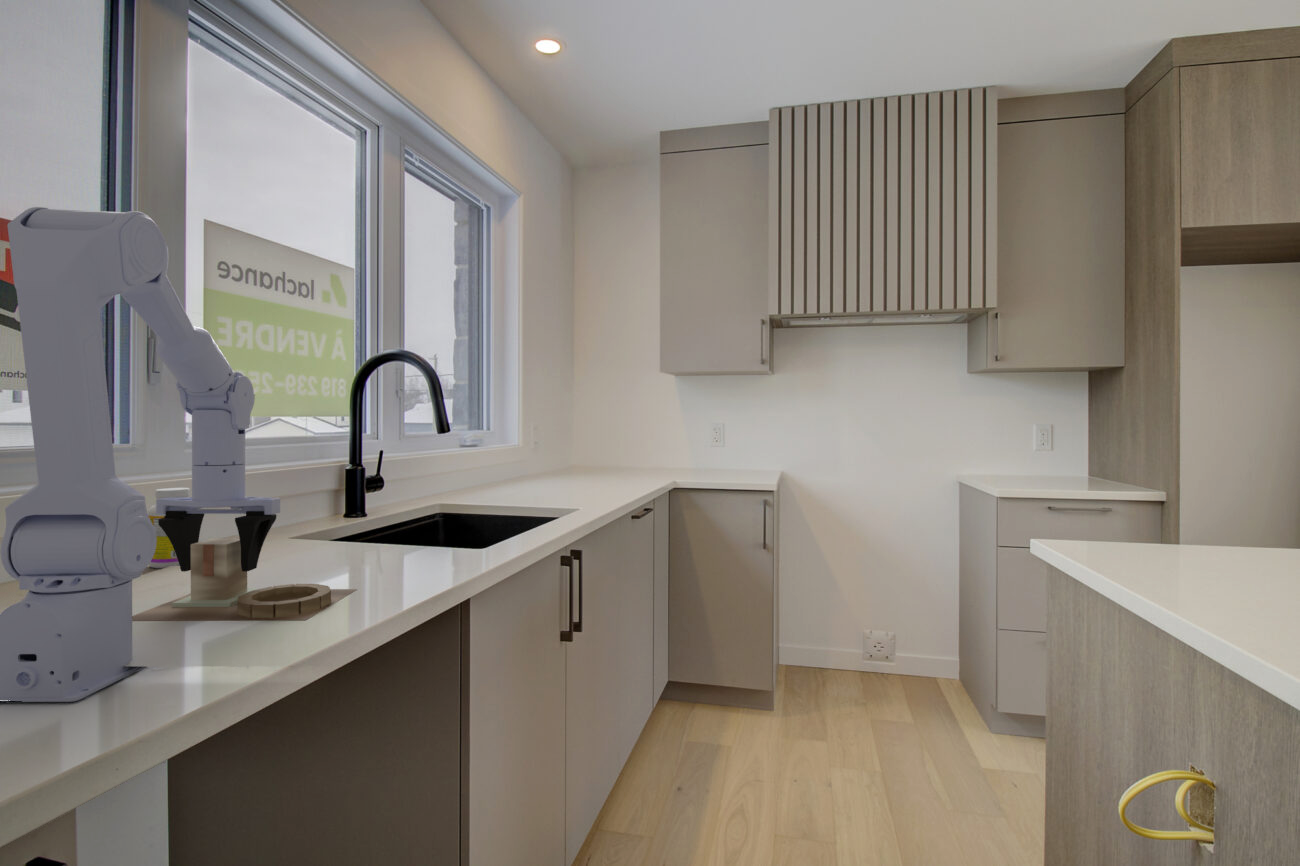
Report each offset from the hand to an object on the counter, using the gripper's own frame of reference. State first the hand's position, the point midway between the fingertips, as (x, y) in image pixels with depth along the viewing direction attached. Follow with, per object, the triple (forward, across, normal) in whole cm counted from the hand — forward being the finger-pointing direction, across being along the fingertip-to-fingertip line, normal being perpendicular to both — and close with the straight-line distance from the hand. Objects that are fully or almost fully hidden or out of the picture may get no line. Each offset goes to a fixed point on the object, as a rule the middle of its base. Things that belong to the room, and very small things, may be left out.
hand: (219, 569), depth 83 cm
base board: (+5, -5, +2) cm, 7 cm away
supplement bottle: (+5, +24, -26) cm, 36 cm away
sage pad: (+4, 0, 0) cm, 4 cm away
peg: (+3, 0, 0) cm, 3 cm away
